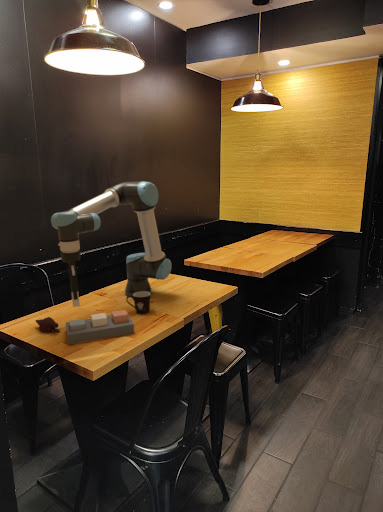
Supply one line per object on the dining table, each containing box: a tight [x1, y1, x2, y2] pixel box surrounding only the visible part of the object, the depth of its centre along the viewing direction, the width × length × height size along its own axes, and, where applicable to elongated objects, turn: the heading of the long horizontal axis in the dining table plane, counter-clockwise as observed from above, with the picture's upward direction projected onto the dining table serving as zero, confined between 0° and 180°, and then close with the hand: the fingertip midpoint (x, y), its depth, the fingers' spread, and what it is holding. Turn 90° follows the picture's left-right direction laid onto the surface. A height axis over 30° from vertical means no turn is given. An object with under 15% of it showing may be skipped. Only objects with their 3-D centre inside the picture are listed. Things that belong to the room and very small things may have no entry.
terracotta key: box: [111, 309, 129, 324], centre depth 161 cm, size 6×6×4 cm
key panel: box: [65, 314, 135, 345], centre depth 159 cm, size 27×14×5 cm, turn 111°
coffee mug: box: [125, 291, 152, 315], centre depth 182 cm, size 12×9×10 cm
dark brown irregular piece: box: [35, 316, 61, 334], centre depth 162 cm, size 7×7×15 cm
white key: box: [90, 312, 107, 327], centre depth 158 cm, size 6×6×4 cm
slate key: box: [68, 318, 86, 331], centre depth 155 cm, size 6×6×4 cm
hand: (76, 305), depth 154 cm, fingers closed
